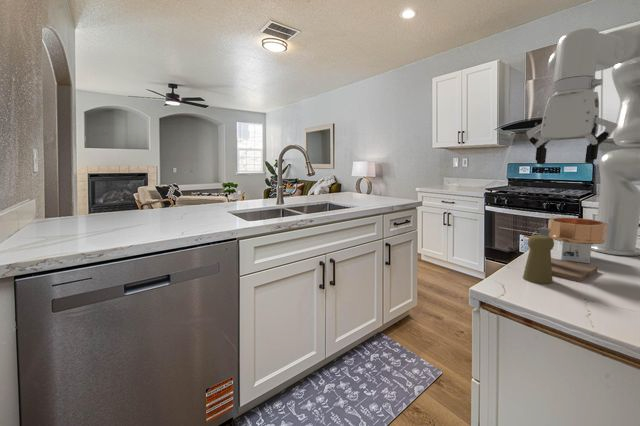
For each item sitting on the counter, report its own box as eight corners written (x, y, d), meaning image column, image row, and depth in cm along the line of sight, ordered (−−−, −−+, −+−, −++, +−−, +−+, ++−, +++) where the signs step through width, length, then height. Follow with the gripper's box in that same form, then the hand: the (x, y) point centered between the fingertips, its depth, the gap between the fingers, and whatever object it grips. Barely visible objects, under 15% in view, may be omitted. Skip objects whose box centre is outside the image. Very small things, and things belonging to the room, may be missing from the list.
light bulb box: (590, 264, 87) (594, 226, 85) (560, 260, 90) (563, 224, 89) (583, 254, 96) (587, 220, 94) (556, 251, 99) (559, 218, 98)
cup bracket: (547, 261, 90) (552, 215, 87) (607, 273, 79) (613, 221, 77) (528, 269, 83) (532, 220, 81) (590, 284, 72) (597, 227, 70)
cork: (558, 284, 73) (562, 239, 71) (529, 283, 74) (533, 238, 72) (545, 275, 78) (548, 233, 77) (518, 274, 80) (521, 232, 78)
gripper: (627, 83, 67) (616, 163, 69) (537, 98, 81) (530, 164, 84) (617, 77, 63) (606, 162, 65) (524, 94, 77) (517, 163, 80)
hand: (563, 163), depth 74 cm, fingers open, 9 cm apart
